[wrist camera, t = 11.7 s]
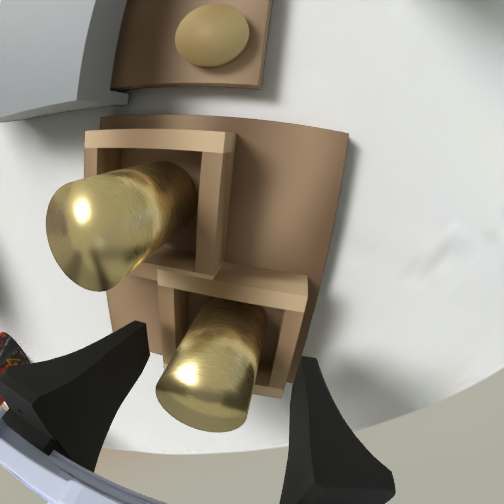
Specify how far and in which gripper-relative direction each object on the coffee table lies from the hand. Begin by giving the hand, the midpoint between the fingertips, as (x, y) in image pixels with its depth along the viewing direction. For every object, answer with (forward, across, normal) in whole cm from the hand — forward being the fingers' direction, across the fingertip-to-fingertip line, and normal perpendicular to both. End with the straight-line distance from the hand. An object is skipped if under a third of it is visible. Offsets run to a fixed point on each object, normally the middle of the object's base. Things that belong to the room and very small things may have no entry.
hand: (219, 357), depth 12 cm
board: (+4, +4, -16) cm, 17 cm away
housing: (+4, +12, -16) cm, 20 cm away
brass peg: (+3, 0, 0) cm, 3 cm away
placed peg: (+3, +4, -6) cm, 8 cm away
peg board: (+4, +2, -3) cm, 5 cm away
